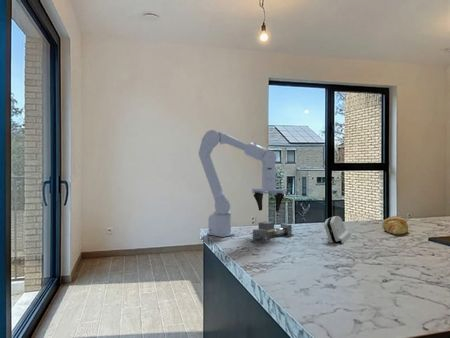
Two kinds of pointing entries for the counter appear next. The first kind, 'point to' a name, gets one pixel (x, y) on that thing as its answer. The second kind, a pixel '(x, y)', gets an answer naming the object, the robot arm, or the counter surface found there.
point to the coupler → (267, 228)
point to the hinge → (336, 230)
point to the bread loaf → (395, 225)
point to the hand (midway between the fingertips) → (268, 210)
